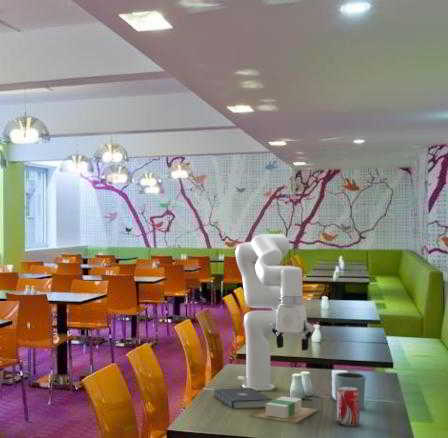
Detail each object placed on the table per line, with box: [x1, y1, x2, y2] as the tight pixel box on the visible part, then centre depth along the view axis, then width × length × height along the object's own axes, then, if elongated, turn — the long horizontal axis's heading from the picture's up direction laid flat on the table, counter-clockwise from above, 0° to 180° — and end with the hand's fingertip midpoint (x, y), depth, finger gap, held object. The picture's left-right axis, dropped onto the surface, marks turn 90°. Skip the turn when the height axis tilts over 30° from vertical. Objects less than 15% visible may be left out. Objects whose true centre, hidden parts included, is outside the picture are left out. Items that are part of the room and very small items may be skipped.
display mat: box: [251, 407, 318, 423], centre depth 274 cm, size 16×22×1 cm
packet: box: [266, 395, 303, 418], centre depth 273 cm, size 7×16×4 cm, turn 143°
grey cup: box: [336, 371, 367, 411], centre depth 282 cm, size 10×10×12 cm
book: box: [213, 387, 273, 410], centre depth 291 cm, size 22×15×3 cm
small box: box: [331, 369, 349, 401], centre depth 296 cm, size 8×6×10 cm
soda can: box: [336, 386, 360, 427], centre depth 260 cm, size 7×7×12 cm
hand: (292, 348), depth 279 cm, fingers open, 9 cm apart
